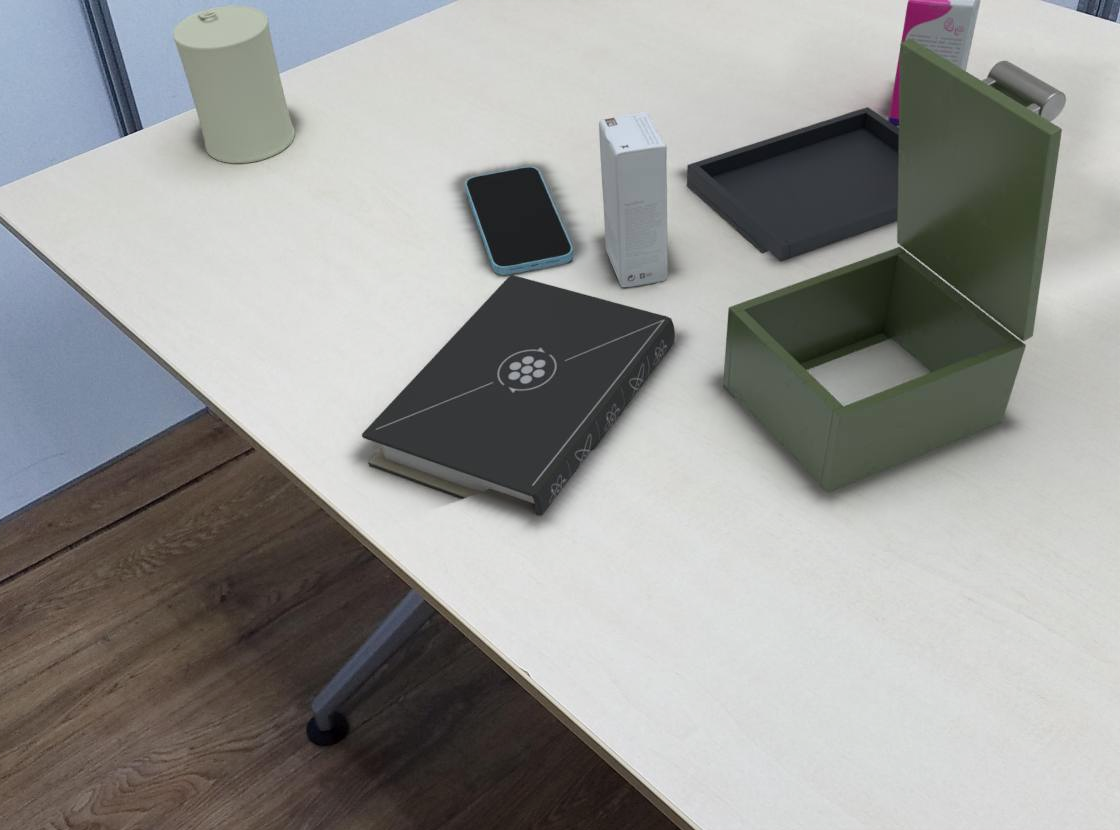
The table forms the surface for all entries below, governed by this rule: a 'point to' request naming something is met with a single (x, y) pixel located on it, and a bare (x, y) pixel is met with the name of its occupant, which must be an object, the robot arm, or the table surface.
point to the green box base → (851, 325)
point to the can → (235, 83)
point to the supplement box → (938, 34)
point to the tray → (806, 184)
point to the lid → (978, 179)
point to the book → (520, 393)
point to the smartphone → (518, 220)
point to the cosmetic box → (634, 198)
